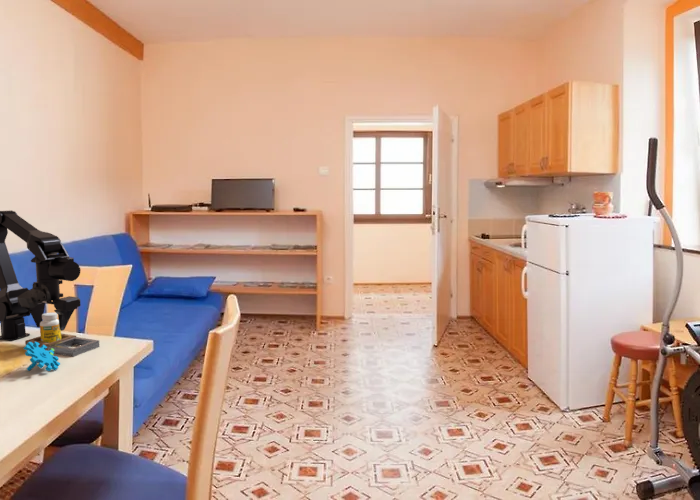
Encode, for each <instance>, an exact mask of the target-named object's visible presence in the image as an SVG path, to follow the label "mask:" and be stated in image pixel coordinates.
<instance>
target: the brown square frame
mask: <svg viewBox="0 0 700 500" xmlns="http://www.w3.org/2000/svg"><path fill="white" fill-rule="evenodd" d="M73 337H77V335H74V334H73V335H72V334H67V333H66V334H65V333H61V339H60V340H57V341H54V342H51V343H47V342H41V335H40V336H37V337H33V338H29V339H27V340H24V341H25V345H26V344H27V343H28V342H32V343H34V342H38V343H39V346H38V347H40V348H41V346H42V345H45V346H46V347H47V348H46V349H45V350H47V351H48V346H49V345H52V344H55V343H58V342H61V341H64V340H67V339H70V338H73Z"/></svg>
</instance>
